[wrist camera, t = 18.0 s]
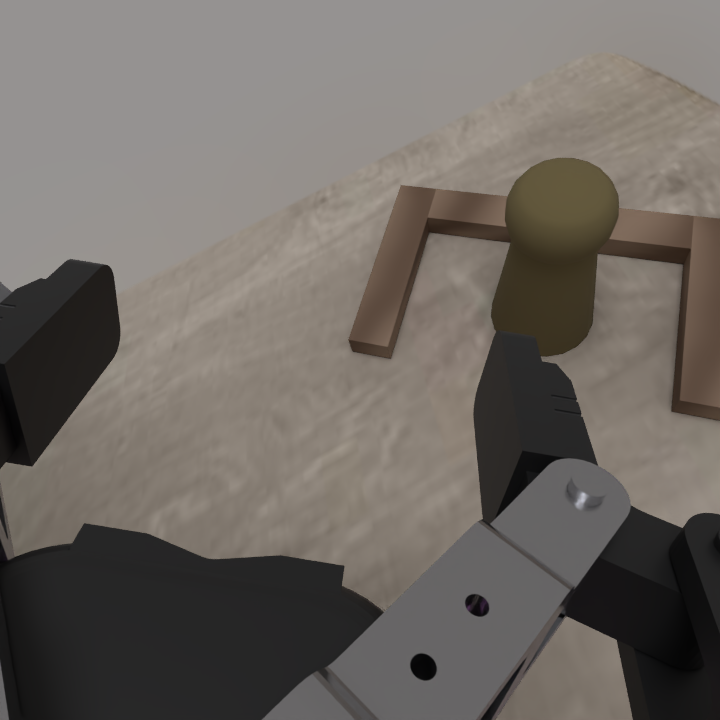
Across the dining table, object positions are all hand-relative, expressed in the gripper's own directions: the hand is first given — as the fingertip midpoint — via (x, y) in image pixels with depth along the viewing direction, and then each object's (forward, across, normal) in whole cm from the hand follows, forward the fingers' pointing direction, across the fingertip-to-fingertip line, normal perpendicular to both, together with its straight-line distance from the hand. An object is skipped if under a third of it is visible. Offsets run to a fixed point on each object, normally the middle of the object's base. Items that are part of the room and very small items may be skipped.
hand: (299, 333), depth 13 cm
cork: (+22, -12, +11) cm, 27 cm away
